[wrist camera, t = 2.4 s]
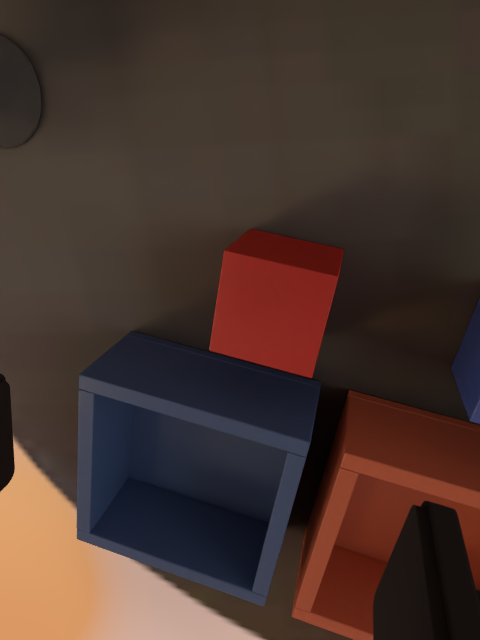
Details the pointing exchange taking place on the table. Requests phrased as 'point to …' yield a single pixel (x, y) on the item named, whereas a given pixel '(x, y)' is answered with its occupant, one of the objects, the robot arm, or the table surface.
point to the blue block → (469, 367)
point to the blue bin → (191, 460)
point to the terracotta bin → (381, 505)
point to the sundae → (17, 96)
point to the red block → (275, 300)
